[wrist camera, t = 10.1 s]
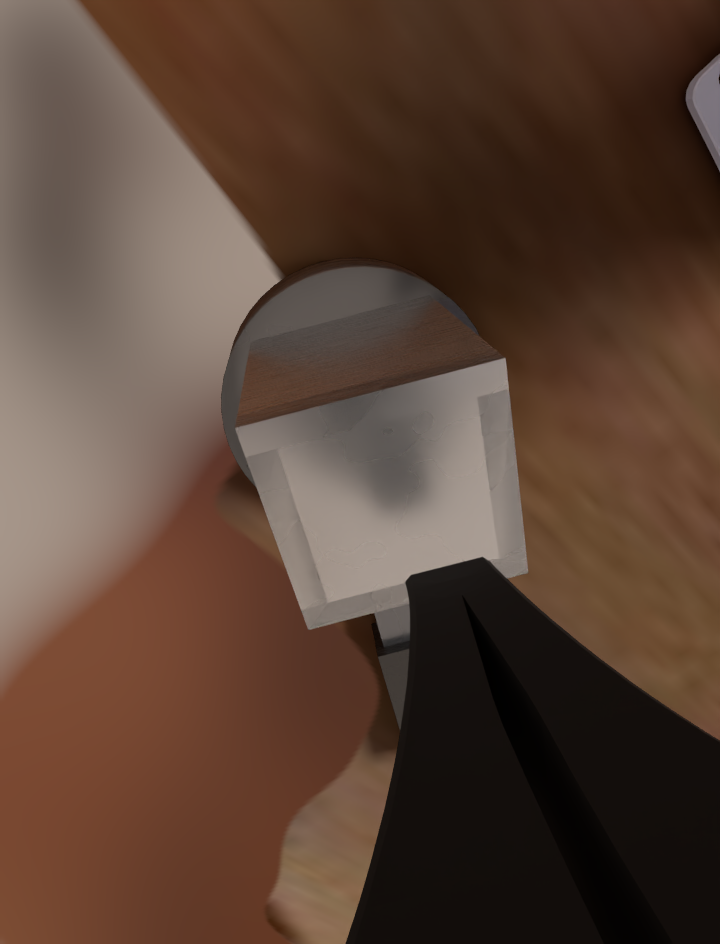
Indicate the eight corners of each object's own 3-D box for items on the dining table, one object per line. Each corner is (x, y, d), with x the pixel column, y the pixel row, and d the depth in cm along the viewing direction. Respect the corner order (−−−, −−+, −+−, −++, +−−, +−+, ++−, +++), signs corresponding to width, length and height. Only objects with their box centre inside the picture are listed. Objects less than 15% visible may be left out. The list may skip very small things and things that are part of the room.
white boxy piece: (429, 295, 16) (505, 357, 10) (455, 454, 18) (528, 572, 13) (250, 341, 16) (234, 427, 10) (300, 495, 18) (308, 630, 13)
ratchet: (189, 296, 17) (155, 341, 12) (454, 226, 17) (516, 246, 12) (358, 759, 27) (373, 872, 23) (522, 716, 27) (568, 821, 23)
